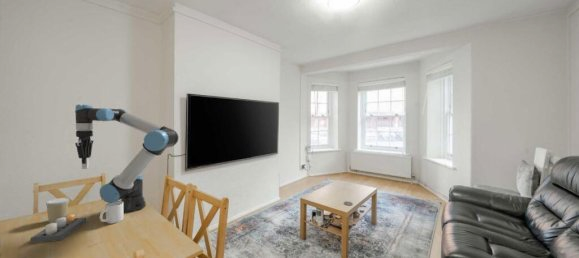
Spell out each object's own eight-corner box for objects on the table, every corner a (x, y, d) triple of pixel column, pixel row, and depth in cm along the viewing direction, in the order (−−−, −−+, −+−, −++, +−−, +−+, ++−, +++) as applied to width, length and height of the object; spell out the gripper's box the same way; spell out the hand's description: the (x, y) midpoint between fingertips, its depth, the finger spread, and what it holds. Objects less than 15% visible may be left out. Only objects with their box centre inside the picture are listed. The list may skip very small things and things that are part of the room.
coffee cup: (74, 217, 135) (73, 198, 135) (56, 225, 126) (56, 204, 125) (60, 216, 136) (59, 197, 136) (42, 223, 127) (41, 203, 126)
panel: (86, 221, 131) (86, 217, 131) (60, 240, 112) (60, 235, 111) (61, 223, 128) (61, 218, 128) (30, 242, 109) (30, 237, 109)
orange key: (76, 222, 129) (76, 213, 128) (71, 225, 125) (71, 217, 124) (68, 222, 128) (68, 214, 127) (63, 226, 124) (62, 217, 123)
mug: (104, 228, 124) (103, 210, 124) (95, 225, 127) (94, 207, 127) (126, 219, 135) (126, 202, 135) (118, 216, 139) (117, 200, 138)
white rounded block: (59, 231, 116) (59, 222, 116) (53, 235, 112) (52, 226, 112) (49, 232, 115) (49, 223, 115) (43, 236, 111) (43, 226, 111)
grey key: (68, 225, 122) (68, 216, 122) (62, 229, 118) (62, 220, 118) (59, 226, 121) (59, 217, 121) (53, 230, 117) (53, 220, 117)
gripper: (84, 129, 141) (84, 166, 142) (69, 130, 128) (70, 171, 130) (98, 129, 143) (98, 166, 144) (84, 131, 130) (85, 171, 131)
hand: (85, 168), depth 137 cm, fingers closed
